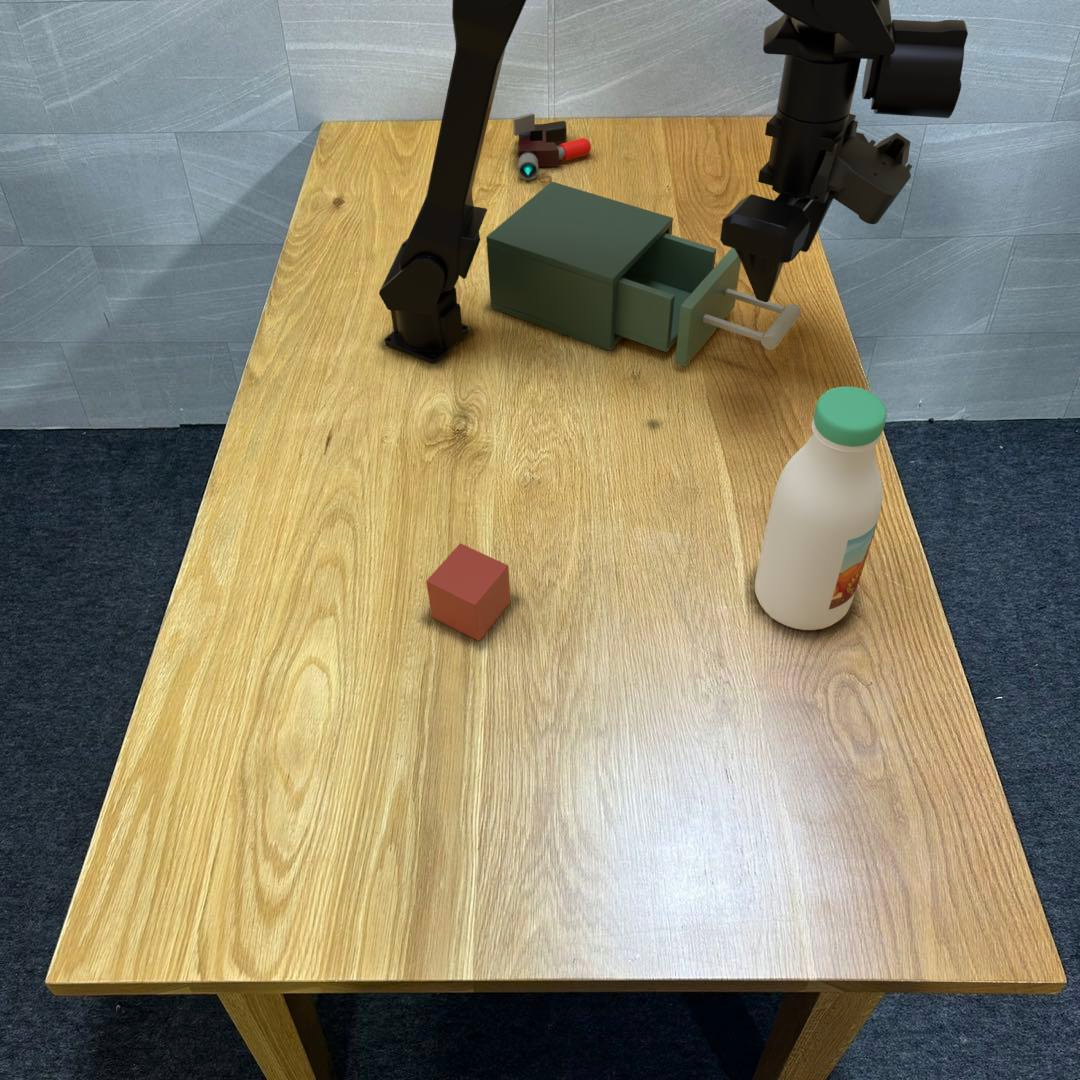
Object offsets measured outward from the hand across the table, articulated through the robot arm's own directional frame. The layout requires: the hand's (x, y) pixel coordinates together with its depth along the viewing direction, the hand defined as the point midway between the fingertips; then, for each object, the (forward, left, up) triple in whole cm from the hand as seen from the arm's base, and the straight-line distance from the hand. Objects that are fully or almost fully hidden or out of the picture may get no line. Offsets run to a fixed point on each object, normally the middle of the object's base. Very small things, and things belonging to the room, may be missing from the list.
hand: (782, 274), depth 94 cm
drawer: (-9, +1, -10) cm, 14 cm away
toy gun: (-40, +25, -11) cm, 49 cm away
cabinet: (-22, +1, -11) cm, 25 cm away
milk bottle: (+14, -25, -11) cm, 31 cm away
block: (-8, -40, -11) cm, 42 cm away
